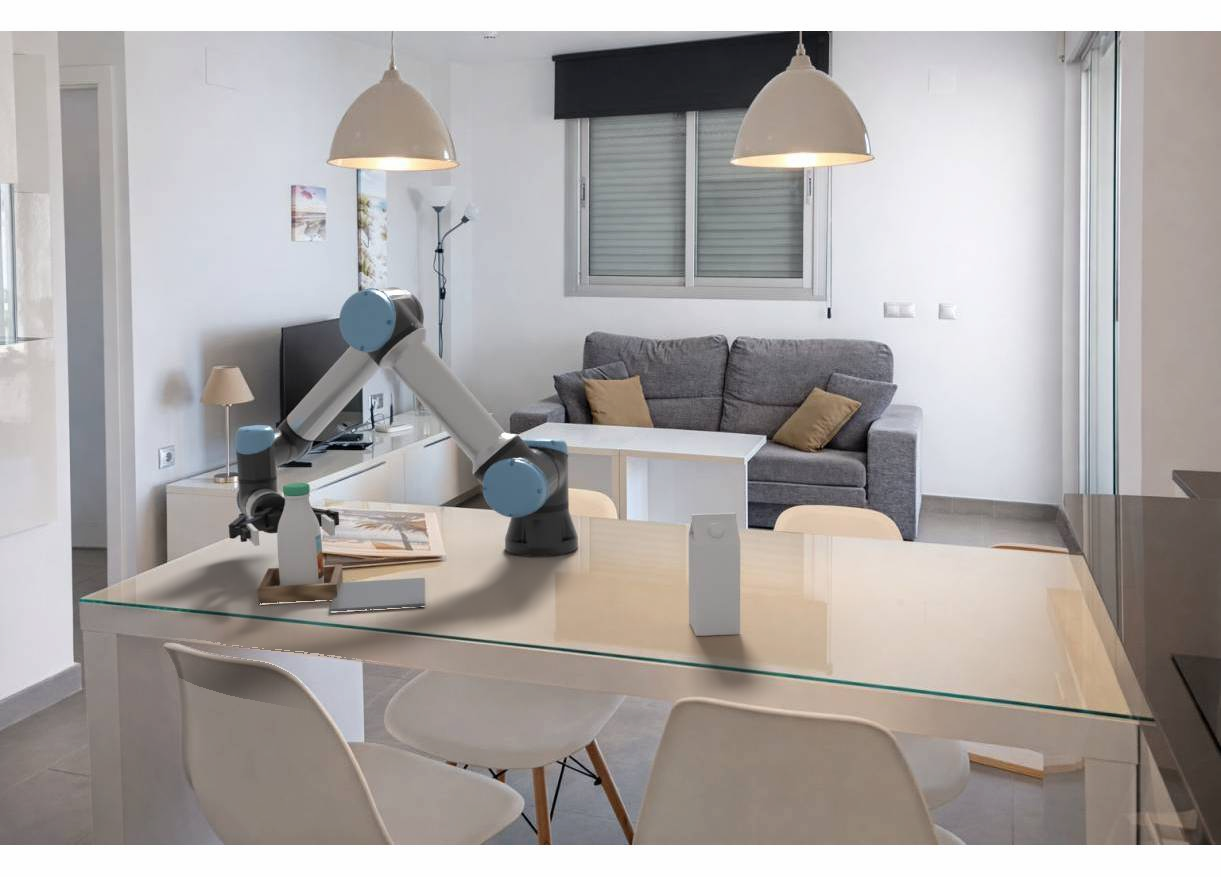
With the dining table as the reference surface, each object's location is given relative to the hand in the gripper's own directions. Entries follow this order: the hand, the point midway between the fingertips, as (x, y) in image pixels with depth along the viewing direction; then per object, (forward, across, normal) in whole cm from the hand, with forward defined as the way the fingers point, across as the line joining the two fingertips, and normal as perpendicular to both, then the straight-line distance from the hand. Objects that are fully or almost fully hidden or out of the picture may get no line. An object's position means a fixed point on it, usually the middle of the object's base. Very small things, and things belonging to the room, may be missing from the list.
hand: (295, 533), depth 201 cm
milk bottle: (+1, 0, -11) cm, 11 cm away
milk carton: (+57, -53, -11) cm, 78 cm away
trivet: (+11, -12, -11) cm, 19 cm away
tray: (+1, 0, -11) cm, 11 cm away
